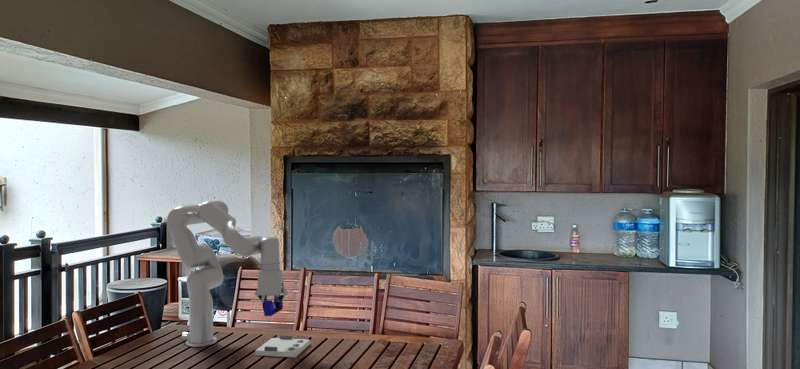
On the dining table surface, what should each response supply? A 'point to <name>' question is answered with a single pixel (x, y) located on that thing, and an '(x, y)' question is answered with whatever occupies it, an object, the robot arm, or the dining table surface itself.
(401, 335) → the dining table surface
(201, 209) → the robot arm
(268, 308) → the cable clip
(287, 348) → the white square board
